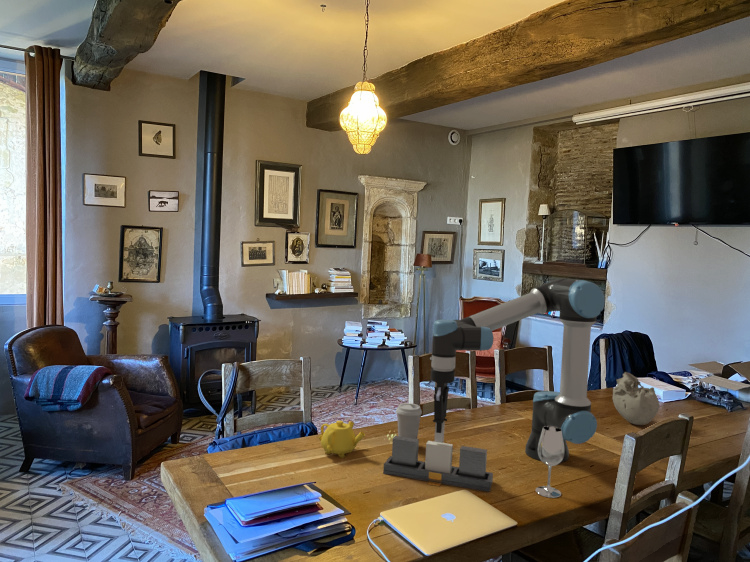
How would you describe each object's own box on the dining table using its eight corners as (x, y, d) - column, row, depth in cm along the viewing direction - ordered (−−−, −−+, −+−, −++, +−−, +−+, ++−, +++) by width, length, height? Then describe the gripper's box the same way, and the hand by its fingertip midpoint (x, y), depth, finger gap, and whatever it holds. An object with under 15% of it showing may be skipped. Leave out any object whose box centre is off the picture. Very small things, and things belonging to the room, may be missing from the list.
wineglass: (531, 486, 174) (535, 424, 173) (555, 486, 175) (559, 424, 174) (540, 498, 167) (544, 432, 165) (565, 498, 167) (570, 433, 166)
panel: (451, 474, 178) (452, 444, 178) (449, 478, 176) (451, 447, 175) (426, 470, 181) (428, 440, 180) (424, 474, 178) (426, 443, 178)
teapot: (365, 457, 192) (366, 426, 192) (326, 461, 188) (328, 429, 187) (352, 443, 206) (353, 413, 205) (316, 446, 201) (317, 416, 200)
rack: (492, 481, 177) (494, 447, 176) (488, 495, 167) (490, 459, 167) (390, 464, 187) (391, 432, 187) (381, 476, 178) (382, 442, 177)
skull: (664, 426, 242) (668, 376, 240) (648, 433, 232) (652, 381, 231) (621, 414, 257) (624, 367, 255) (604, 420, 247) (607, 371, 246)
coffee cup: (418, 452, 200) (420, 411, 199) (392, 449, 201) (394, 408, 200) (421, 443, 209) (423, 404, 208) (396, 440, 211) (398, 401, 210)
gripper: (435, 363, 183) (431, 433, 185) (426, 371, 171) (422, 446, 173) (458, 366, 181) (454, 436, 183) (450, 374, 169) (446, 450, 170)
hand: (439, 441), depth 178 cm, fingers closed
